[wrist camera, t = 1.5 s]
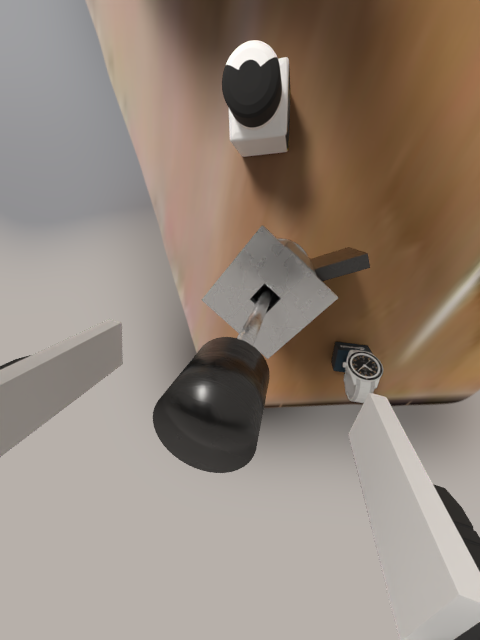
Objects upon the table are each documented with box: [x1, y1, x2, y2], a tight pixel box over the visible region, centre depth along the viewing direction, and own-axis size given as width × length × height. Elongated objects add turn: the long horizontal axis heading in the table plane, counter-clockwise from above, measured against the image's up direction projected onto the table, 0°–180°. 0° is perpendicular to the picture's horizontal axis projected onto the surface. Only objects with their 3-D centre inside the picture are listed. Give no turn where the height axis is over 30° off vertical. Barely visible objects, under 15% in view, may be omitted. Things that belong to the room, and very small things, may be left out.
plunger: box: [153, 283, 280, 473], centre depth 19 cm, size 9×9×23 cm
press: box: [202, 225, 370, 359], centre depth 32 cm, size 16×12×17 cm
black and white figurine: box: [222, 40, 291, 157], centre depth 28 cm, size 7×7×12 cm
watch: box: [331, 342, 383, 403], centre depth 38 cm, size 6×8×11 cm
